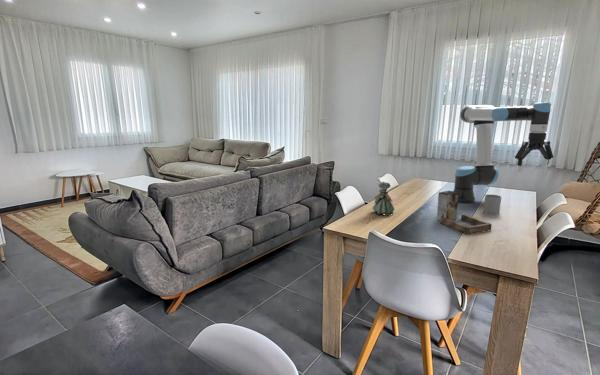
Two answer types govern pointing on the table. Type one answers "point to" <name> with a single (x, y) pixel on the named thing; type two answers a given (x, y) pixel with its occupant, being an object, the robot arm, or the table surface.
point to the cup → (492, 204)
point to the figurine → (383, 200)
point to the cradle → (466, 224)
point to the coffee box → (447, 205)
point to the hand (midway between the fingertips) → (531, 171)
